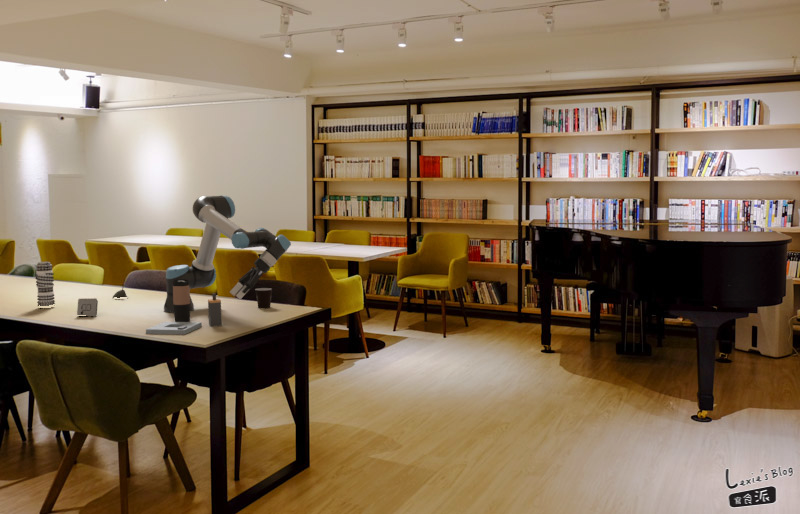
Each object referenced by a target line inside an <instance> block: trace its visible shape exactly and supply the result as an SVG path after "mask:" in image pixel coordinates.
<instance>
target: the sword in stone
mask: <svg viewBox="0 0 800 514" xmlns="http://www.w3.org/2000/svg"><path fill="white" fill-rule="evenodd" d="M125 281H126V279H125V278H124V280H123V283H122V286H121V287H122V289H120V290H118V291H116V292H115V293H114V295H112V298H113V297H117V298H120V297H128V296H127V293H126V291H125V290H124V287H125Z"/></svg>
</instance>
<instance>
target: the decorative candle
mask: <svg viewBox="0 0 800 514" xmlns="http://www.w3.org/2000/svg"><path fill="white" fill-rule="evenodd" d="M35 266H36V271H35V272H36V274H35V275H34V276H35V280H36V281H35V283H36V288H37V296H36V297H37V301H36V303H37V307H38V306H39V305H40V306H49V305H53V304H55V305H56V303H55V302H56V301H55V297H54V296H55V291H54V286H55V284H54V283H53V282H55V280H54V278H55V277H54V275H55V273H54V271H53V264H51V262H50V261H40V262H38V263H37V264H36V265H35Z"/></svg>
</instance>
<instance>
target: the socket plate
mask: <svg viewBox="0 0 800 514" xmlns="http://www.w3.org/2000/svg"><path fill="white" fill-rule="evenodd" d="M201 327H202V322H201V321H198V322H197V321H196V322H195V321H189V322H175V321H163V322H160V323H158V324H155V325H154V326H151V327H148V328H146V329H145V334H147V335H150V334H151V335H182V336H183V335H186V334H188V333H190V332H193V331H195V330H197V329H200V328H201Z"/></svg>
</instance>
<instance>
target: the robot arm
mask: <svg viewBox="0 0 800 514" xmlns="http://www.w3.org/2000/svg"><path fill="white" fill-rule="evenodd" d="M192 213H193V215H194V217H195V218H196V219H197V220H198V221H200V222H201V223H204V224H205V226H204V230H203V233H202V237H201V241H200V245H199V248H198V252H197V255H196V258H195V259H193V261H191V262H192V263H191V266H189V265H188V264H180V265H173V266H169V267H168V268H166V271H165V279H166V280H165V281H166V283H165V284H166V298H165V302H164V305H163V312H165V313H174V304H173V280H180V279H187V280H189V292H190V291H191V289H198V288H206V287H211V286H212V285H213V284H214V283H215V280H216V279H217V273H216V272H217V271H216V268H215V266H214V264H213V261H214V258H215V254H216V251H217V248H218V244H219V240H220V237H221V234H222V235H224V236H225V237H226V238H228V239H229V240H230V241H231V245H232V246H233V247H234V249H240V250H241V249H243V250H244V249H248V248H249V249H250V248H261V247H263V248H265V250H264V251H263V252H262V254H260V256H259V257H258V258H257V259H256V260H255V261H254V266H255V267H254V266H252V267H251V268H250V270H248V271H247V272H246V273H245V274H243V276H241V277H240V278H239V279H238V282H237V283H236V284H235V285H234V286H233V288H231V290H230V291H229V293H230V295H232V296H235V297H236V298H237V299H239V300H242V298H243V297H244V296H245V295H246V294H247V293H248V292H249V291H250V290H251V289H253V288H254V287H255V286H256V284H257V283H258V281H259V280H260V279H261V277H262V276H263V275H264V274H267V273H268V271H270V269H271V268H272V267H273V266H274V265H276V263H277V261H279V259H281V257H282V256H283V255H284V254H285V253H286V252H287V250H289V248H290V247H291V244H292V243H291V240H289V239H288V238H287V237H286V236H285V235H284V234H279V235H278V236H276V235H275V234H273V233H272V232H271V231H269V230H268V229H266V228H264V227H258V228H257V229H255V231H247V230H245V229H243V228H242V227H241V226H239V225H238V224H236V223H235V222H233V221H231V220H230V219H231V218H233V217H234V216H235V214H236V205H235V202H234V201H233V200H232V198H231V197H230V196H227V195H204V196H200V197H198V198H196V200H195V201H194V202H193V204H192ZM190 293H191V292H190ZM194 310H195V305H194V303H193V299H192V298H191V296H190V312H191V311H194Z"/></svg>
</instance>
